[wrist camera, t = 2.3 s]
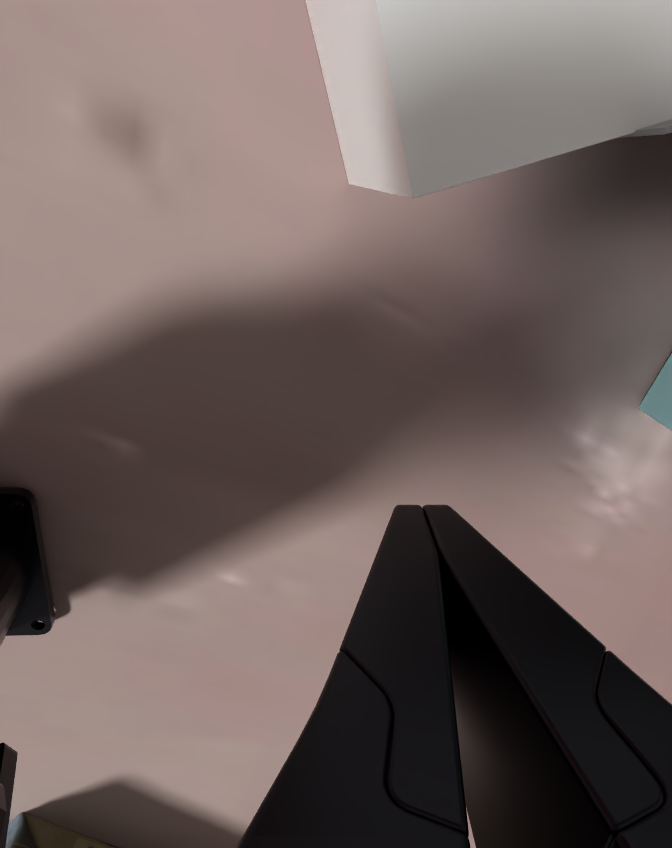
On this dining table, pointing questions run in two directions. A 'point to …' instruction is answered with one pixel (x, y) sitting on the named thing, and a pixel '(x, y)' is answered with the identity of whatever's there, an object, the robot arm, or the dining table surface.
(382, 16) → the case
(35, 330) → the dining table surface
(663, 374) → the hatch
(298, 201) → the dining table surface
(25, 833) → the beverage carton
